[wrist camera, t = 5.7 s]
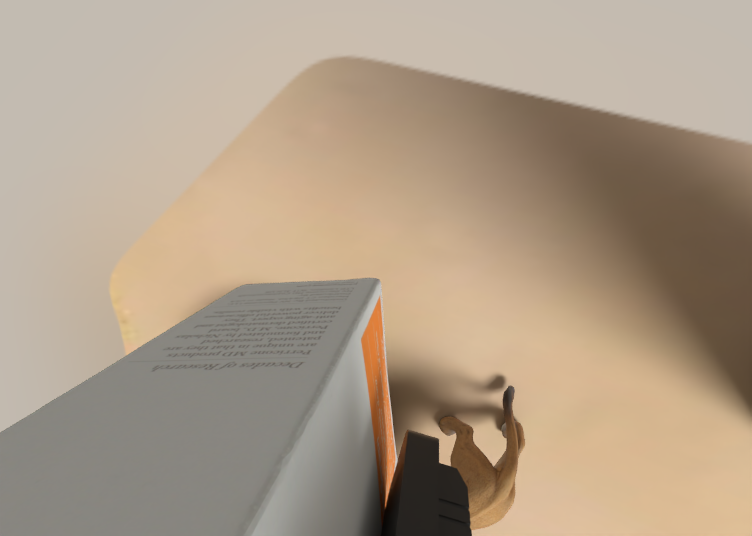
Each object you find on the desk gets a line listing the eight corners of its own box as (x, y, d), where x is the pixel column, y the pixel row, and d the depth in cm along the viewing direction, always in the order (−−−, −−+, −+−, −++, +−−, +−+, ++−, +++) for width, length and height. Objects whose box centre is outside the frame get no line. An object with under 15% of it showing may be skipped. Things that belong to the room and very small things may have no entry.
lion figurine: (413, 554, 32) (404, 702, 23) (350, 514, 32) (317, 647, 23) (544, 403, 28) (592, 512, 19) (472, 356, 28) (487, 445, 19)
